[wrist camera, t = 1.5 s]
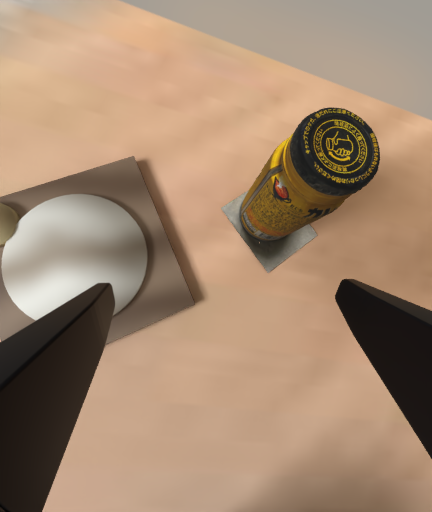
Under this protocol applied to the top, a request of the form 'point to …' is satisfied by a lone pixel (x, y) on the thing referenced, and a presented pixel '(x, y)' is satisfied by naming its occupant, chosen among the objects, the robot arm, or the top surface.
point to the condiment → (304, 183)
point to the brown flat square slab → (87, 250)
